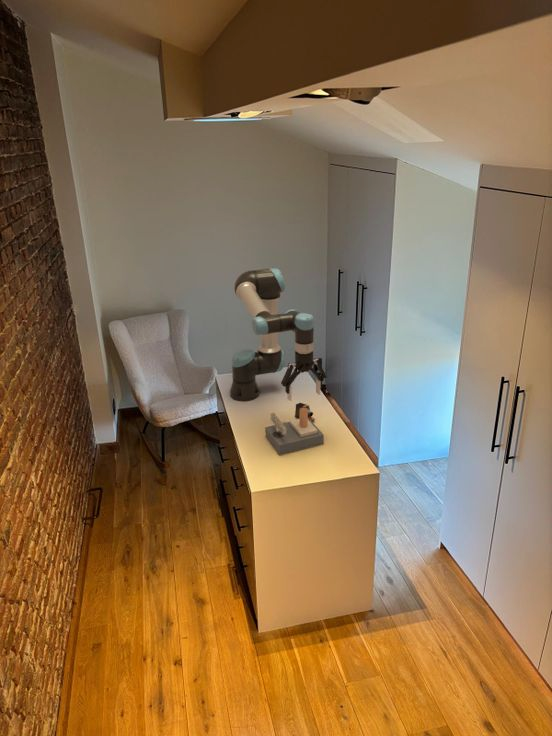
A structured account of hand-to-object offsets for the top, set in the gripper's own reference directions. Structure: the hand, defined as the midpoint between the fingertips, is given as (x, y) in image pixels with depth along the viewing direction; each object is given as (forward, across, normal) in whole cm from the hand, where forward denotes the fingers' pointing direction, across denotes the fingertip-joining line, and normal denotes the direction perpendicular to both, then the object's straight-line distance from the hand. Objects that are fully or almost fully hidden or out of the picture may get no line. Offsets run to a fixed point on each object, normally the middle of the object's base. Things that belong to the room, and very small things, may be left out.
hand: (303, 396), depth 234 cm
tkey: (+16, -12, 0) cm, 20 cm away
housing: (+21, -4, 0) cm, 22 cm away
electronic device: (+22, +8, +15) cm, 27 cm away
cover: (+16, 0, 0) cm, 16 cm away
